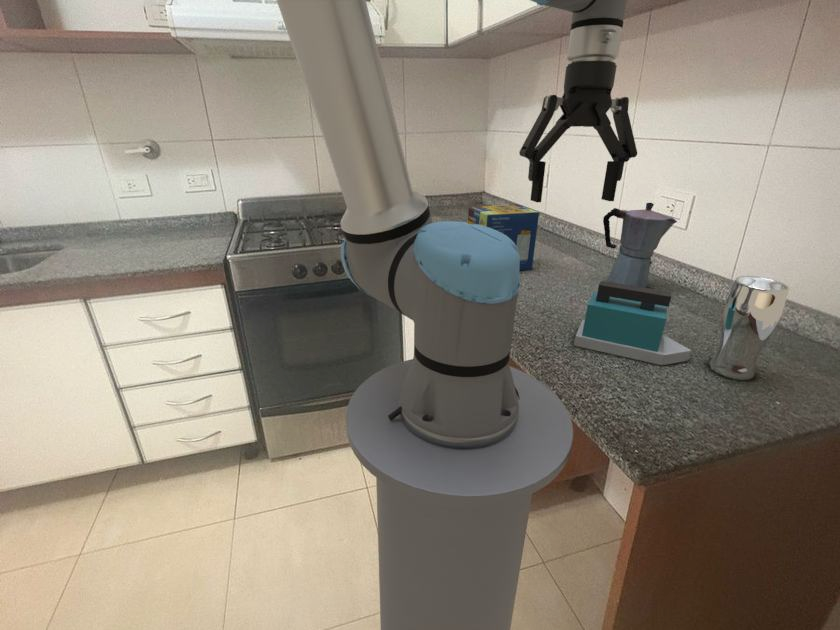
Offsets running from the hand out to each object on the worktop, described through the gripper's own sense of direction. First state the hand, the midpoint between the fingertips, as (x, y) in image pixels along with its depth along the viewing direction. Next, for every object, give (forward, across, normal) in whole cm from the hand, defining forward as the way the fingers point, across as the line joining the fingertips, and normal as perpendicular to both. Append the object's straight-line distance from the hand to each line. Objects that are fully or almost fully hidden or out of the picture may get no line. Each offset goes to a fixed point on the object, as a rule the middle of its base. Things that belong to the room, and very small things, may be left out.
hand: (572, 201), depth 77 cm
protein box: (+23, +2, +37) cm, 44 cm away
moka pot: (+23, +28, +19) cm, 41 cm away
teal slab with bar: (+24, +9, -11) cm, 28 cm away
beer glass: (+24, +21, -20) cm, 38 cm away
